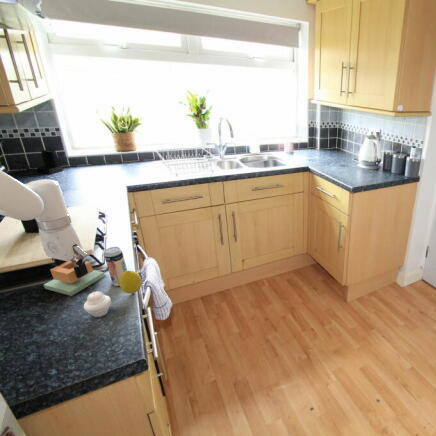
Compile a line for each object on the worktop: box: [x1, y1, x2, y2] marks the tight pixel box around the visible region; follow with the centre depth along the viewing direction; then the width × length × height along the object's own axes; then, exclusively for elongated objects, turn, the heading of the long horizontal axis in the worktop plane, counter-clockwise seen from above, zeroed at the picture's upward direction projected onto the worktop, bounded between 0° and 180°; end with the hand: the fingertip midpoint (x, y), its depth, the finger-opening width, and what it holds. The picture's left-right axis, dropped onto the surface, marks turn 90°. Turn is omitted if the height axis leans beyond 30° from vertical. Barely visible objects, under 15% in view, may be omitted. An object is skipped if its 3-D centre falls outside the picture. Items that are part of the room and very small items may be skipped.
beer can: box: [103, 246, 128, 287], centre depth 99 cm, size 5×5×12 cm
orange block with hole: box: [49, 258, 94, 283], centre depth 100 cm, size 7×7×4 cm
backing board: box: [43, 269, 106, 297], centre depth 100 cm, size 11×11×4 cm
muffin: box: [83, 291, 112, 318], centre depth 87 cm, size 6×6×7 cm
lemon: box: [119, 270, 142, 295], centre depth 95 cm, size 6×6×8 cm
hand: (73, 272), depth 100 cm, fingers closed on orange block with hole, 7 cm apart
